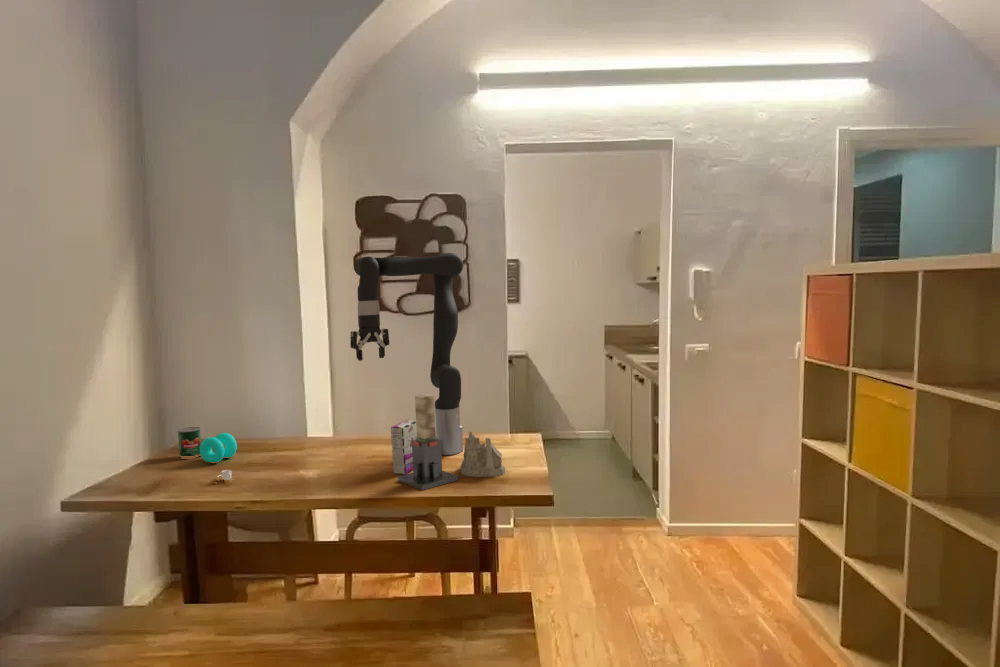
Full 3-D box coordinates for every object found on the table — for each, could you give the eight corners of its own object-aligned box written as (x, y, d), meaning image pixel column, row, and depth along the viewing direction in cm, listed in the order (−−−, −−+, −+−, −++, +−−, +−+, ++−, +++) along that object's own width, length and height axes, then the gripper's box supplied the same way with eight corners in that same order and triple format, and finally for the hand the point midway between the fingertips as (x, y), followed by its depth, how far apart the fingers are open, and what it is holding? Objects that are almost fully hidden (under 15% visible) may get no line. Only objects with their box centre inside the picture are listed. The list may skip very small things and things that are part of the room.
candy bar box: (408, 464, 233) (405, 419, 232) (420, 465, 232) (418, 420, 230) (392, 473, 223) (390, 426, 222) (405, 474, 221) (403, 427, 220)
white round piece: (214, 480, 224) (213, 468, 223) (239, 477, 226) (238, 465, 226) (213, 487, 215) (212, 475, 215) (239, 484, 218) (238, 472, 218)
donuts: (199, 464, 244) (197, 437, 243) (217, 457, 254) (215, 431, 253) (221, 465, 241) (219, 438, 240) (239, 458, 251) (237, 432, 250)
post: (428, 453, 217) (426, 394, 215) (437, 456, 213) (434, 395, 211) (416, 456, 214) (414, 395, 212) (425, 459, 210) (422, 397, 208)
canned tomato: (188, 460, 249) (186, 432, 249) (175, 458, 253) (173, 430, 253) (206, 455, 256) (204, 427, 255) (193, 453, 260) (191, 426, 259)
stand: (433, 471, 224) (431, 432, 223) (458, 480, 213) (456, 439, 212) (398, 480, 215) (396, 440, 214) (422, 490, 204) (420, 447, 203)
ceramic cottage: (500, 477, 214) (498, 432, 214) (453, 477, 219) (451, 432, 218) (513, 467, 229) (510, 424, 229) (468, 467, 234) (466, 425, 233)
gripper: (380, 312, 239) (383, 356, 240) (345, 314, 229) (347, 360, 231) (391, 312, 233) (393, 357, 234) (355, 314, 224) (358, 362, 225)
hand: (371, 359), depth 232 cm, fingers open, 8 cm apart
